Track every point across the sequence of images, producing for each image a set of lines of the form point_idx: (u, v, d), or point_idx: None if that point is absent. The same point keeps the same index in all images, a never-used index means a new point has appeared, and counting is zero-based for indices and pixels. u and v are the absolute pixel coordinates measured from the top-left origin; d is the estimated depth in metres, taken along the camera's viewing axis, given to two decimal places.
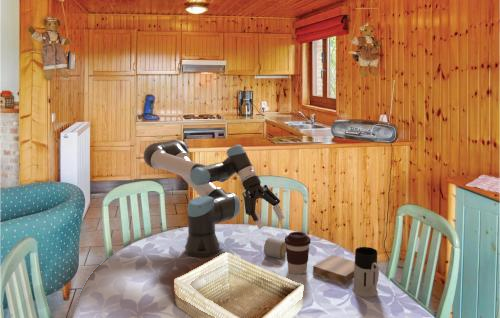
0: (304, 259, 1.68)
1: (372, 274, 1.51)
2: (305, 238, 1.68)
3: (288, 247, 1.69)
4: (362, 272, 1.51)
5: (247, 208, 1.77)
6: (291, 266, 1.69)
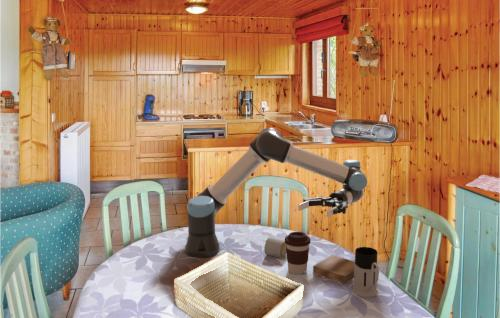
0: (304, 259, 1.68)
1: (372, 274, 1.51)
2: (305, 238, 1.68)
3: (288, 247, 1.69)
4: (362, 272, 1.51)
5: (345, 210, 1.77)
6: (291, 266, 1.69)
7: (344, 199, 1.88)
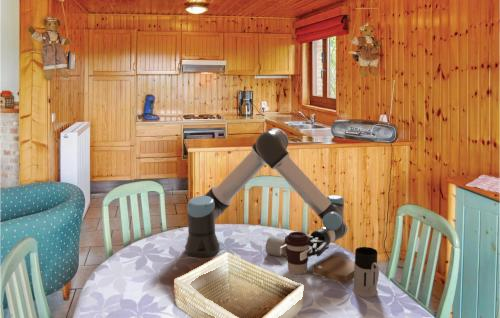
0: (304, 259, 1.68)
1: (372, 274, 1.51)
2: (305, 238, 1.68)
3: (288, 247, 1.69)
4: (362, 272, 1.51)
5: (321, 252, 1.69)
6: (291, 266, 1.69)
7: (326, 238, 1.80)
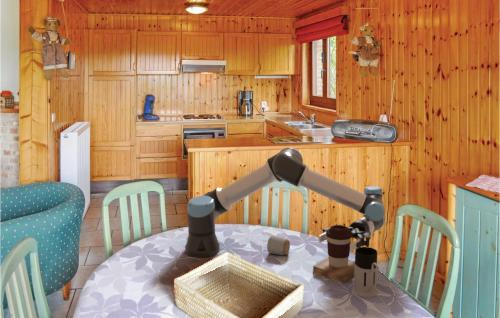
0: (346, 253, 1.66)
1: (372, 274, 1.51)
2: (347, 231, 1.66)
3: (330, 240, 1.67)
4: (362, 272, 1.51)
5: None
6: (333, 260, 1.67)
7: (366, 229, 1.77)
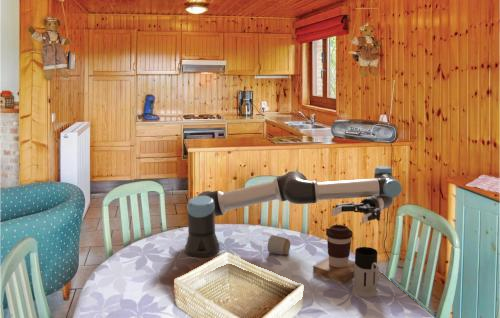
0: (346, 252, 1.66)
1: (372, 274, 1.51)
2: (347, 231, 1.66)
3: (330, 240, 1.67)
4: (362, 272, 1.51)
5: None
6: (332, 259, 1.67)
7: (376, 205, 1.87)
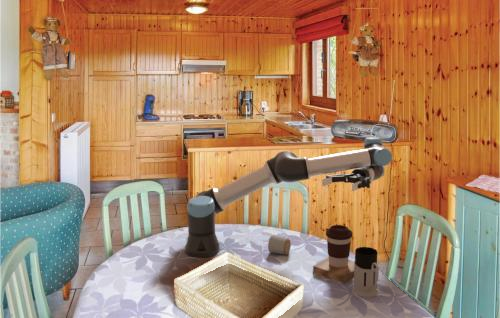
0: (346, 253, 1.66)
1: (372, 274, 1.51)
2: (347, 231, 1.65)
3: (329, 240, 1.67)
4: (362, 272, 1.51)
5: None
6: (332, 259, 1.67)
7: (367, 175, 1.88)
